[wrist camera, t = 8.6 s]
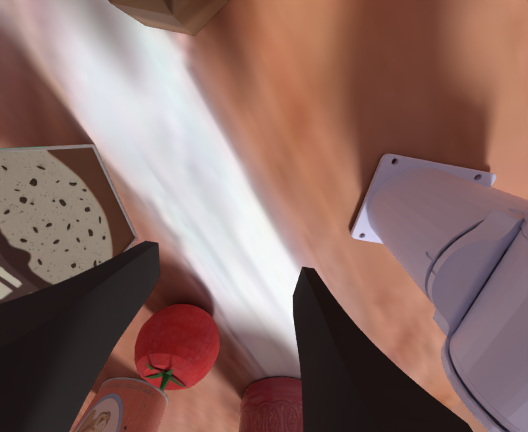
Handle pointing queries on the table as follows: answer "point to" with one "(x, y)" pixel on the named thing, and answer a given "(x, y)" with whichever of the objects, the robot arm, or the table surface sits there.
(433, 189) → the robot arm
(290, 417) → the canister
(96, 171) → the food container
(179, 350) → the tomato
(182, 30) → the walnut bead
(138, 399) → the canned food
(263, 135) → the table surface
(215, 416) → the table surface
